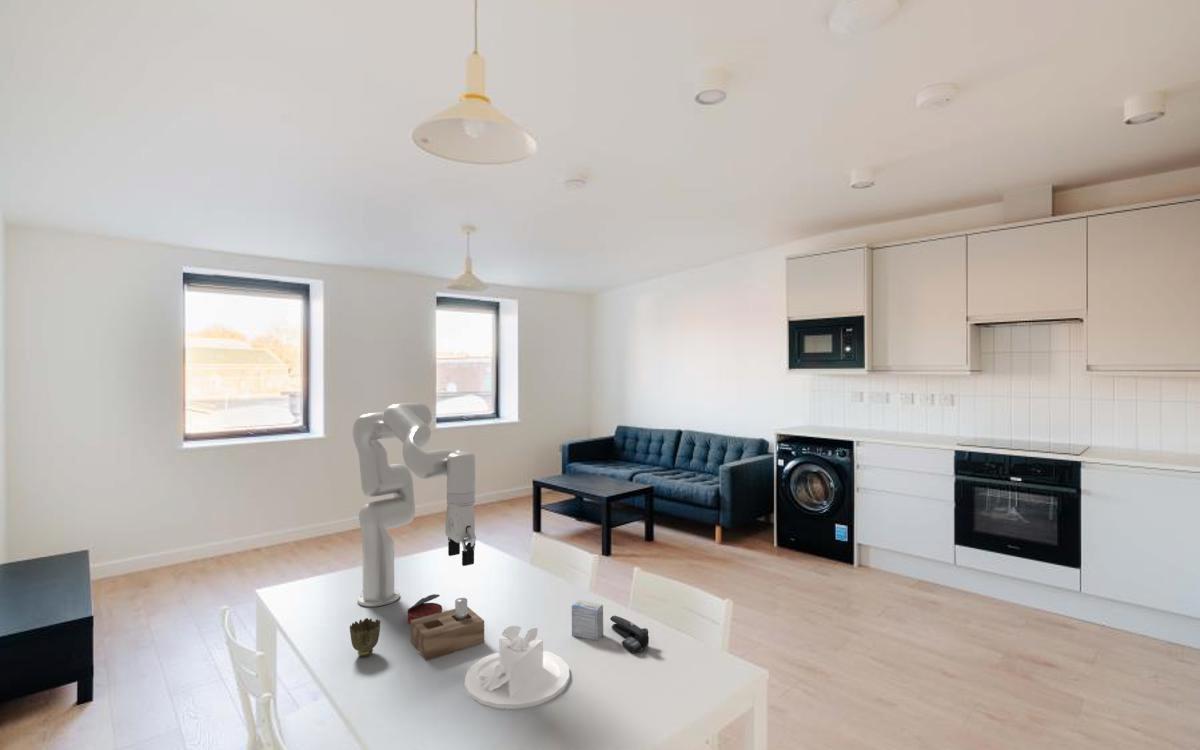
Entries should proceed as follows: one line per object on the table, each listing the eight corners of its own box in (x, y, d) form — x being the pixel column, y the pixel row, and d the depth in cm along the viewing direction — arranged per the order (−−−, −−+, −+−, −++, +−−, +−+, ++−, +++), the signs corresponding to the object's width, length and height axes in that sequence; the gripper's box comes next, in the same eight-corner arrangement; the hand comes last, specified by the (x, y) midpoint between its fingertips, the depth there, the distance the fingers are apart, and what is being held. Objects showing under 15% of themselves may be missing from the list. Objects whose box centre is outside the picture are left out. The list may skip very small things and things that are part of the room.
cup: (386, 650, 151) (386, 620, 151) (366, 663, 144) (366, 632, 144) (363, 645, 153) (363, 616, 153) (343, 658, 146) (343, 627, 146)
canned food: (413, 642, 165) (395, 615, 163) (417, 623, 174) (400, 597, 172) (449, 622, 166) (432, 594, 164) (451, 604, 176) (435, 578, 174)
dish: (478, 652, 150) (478, 610, 150) (573, 654, 149) (573, 611, 149) (450, 708, 125) (450, 657, 125) (564, 711, 124) (564, 660, 124)
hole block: (410, 642, 155) (410, 620, 155) (466, 626, 164) (466, 605, 164) (425, 660, 145) (425, 637, 145) (484, 642, 155) (484, 620, 155)
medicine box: (603, 635, 159) (603, 604, 159) (597, 641, 155) (596, 610, 155) (578, 629, 163) (578, 599, 163) (571, 636, 159) (571, 605, 158)
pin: (453, 632, 158) (453, 599, 158) (464, 629, 160) (464, 596, 159) (458, 636, 155) (457, 603, 155) (469, 633, 157) (469, 600, 157)
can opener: (655, 652, 150) (655, 630, 150) (632, 658, 147) (632, 636, 147) (623, 624, 166) (623, 605, 166) (602, 629, 163) (602, 609, 163)
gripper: (436, 493, 162) (436, 553, 162) (460, 506, 148) (460, 571, 148) (461, 490, 166) (461, 548, 166) (487, 502, 152) (487, 566, 152)
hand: (460, 559), depth 157 cm, fingers open, 9 cm apart
